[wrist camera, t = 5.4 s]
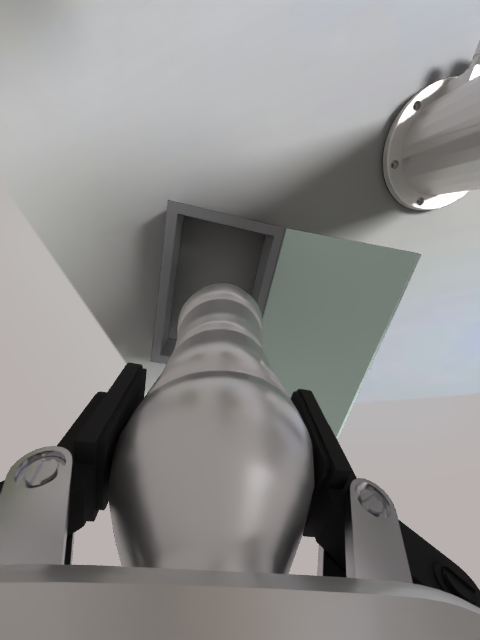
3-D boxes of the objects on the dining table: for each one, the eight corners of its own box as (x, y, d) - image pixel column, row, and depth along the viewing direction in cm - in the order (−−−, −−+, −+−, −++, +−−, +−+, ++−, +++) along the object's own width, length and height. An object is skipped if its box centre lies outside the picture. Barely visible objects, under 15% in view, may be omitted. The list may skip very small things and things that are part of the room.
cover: (419, 253, 18) (421, 254, 19) (286, 228, 25) (291, 229, 26) (334, 440, 24) (339, 436, 25) (247, 376, 31) (252, 373, 32)
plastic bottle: (167, 319, 22) (-187, 911, 3) (217, 259, 20) (102, 761, 1) (224, 360, 23) (216, 887, 5) (274, 308, 22) (550, 811, 3)
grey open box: (176, 204, 28) (168, 199, 24) (275, 227, 30) (286, 228, 26) (159, 342, 34) (150, 361, 30) (243, 355, 36) (247, 375, 32)
